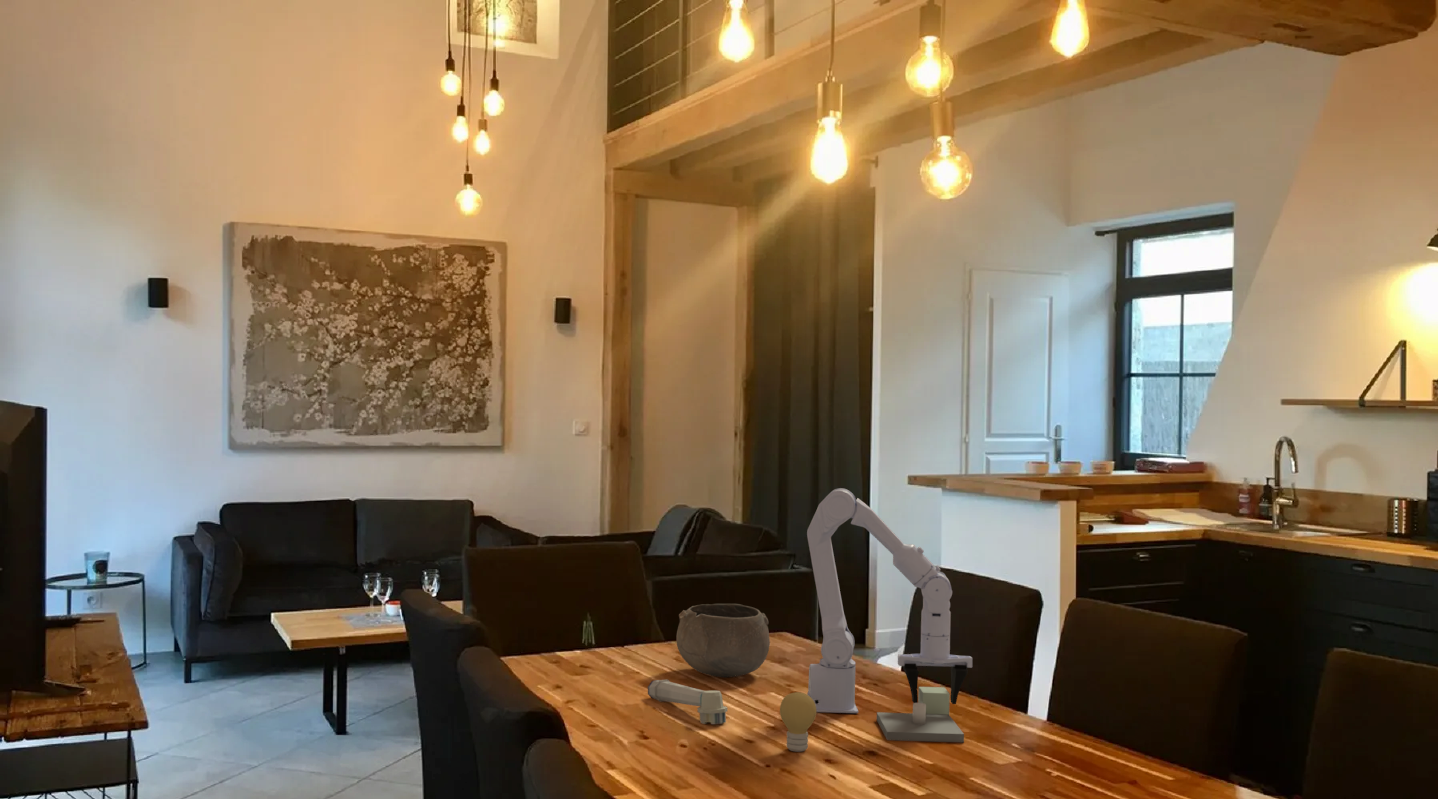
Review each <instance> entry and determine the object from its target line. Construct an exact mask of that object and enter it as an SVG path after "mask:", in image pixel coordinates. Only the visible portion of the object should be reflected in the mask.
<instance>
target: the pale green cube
mask: <svg viewBox="0 0 1438 799" xmlns="http://www.w3.org/2000/svg"><path fill="white" fill-rule="evenodd" d="M917 693H918V702H917V703H924V704H926V714H949V715H950V702H951V698H950V696H951V692H949V691H948V690H947V689H946V687H945V686H944V687H943V686H942V687H940V686H939V687H938V686H918V692H917Z"/></svg>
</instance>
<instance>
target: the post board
mask: <svg viewBox="0 0 1438 799" xmlns="http://www.w3.org/2000/svg"><path fill="white" fill-rule="evenodd" d="M876 722H877V723H878V725H879V727H880V729H881V732H882V733H883V736H884V737H885V739H886V740H887V741H903V742H904V741H905V742H906V741H907V742H936V743H938V742H941V743H942V742H943V743H964V742H965V733H964V732H963V731H962V729H961V728H960V727H959V726H958V724H957V723H956V722H955V721H954V719H953V718H952V717H951V716H950V713H949V714H926V704H924V703H918V702H917V703H913V702H912V712H911V713H910V712H909V713H907V712H884V711H883V712H881V711H880V712H879V711H877V712H876Z"/></svg>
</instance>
